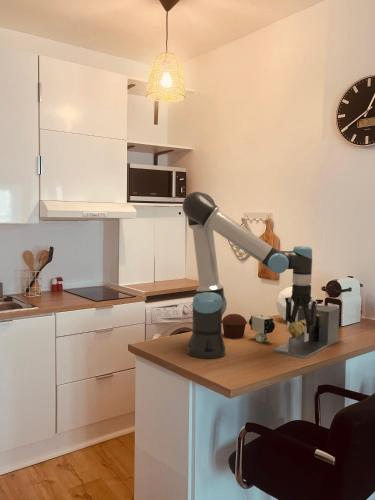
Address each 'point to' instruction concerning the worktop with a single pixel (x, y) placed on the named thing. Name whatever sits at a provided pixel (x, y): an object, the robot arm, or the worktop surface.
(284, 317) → the ball
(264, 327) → the pneumatic valve
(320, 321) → the housing
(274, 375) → the worktop surface
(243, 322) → the muffin
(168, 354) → the worktop surface
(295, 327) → the golden cylinder
